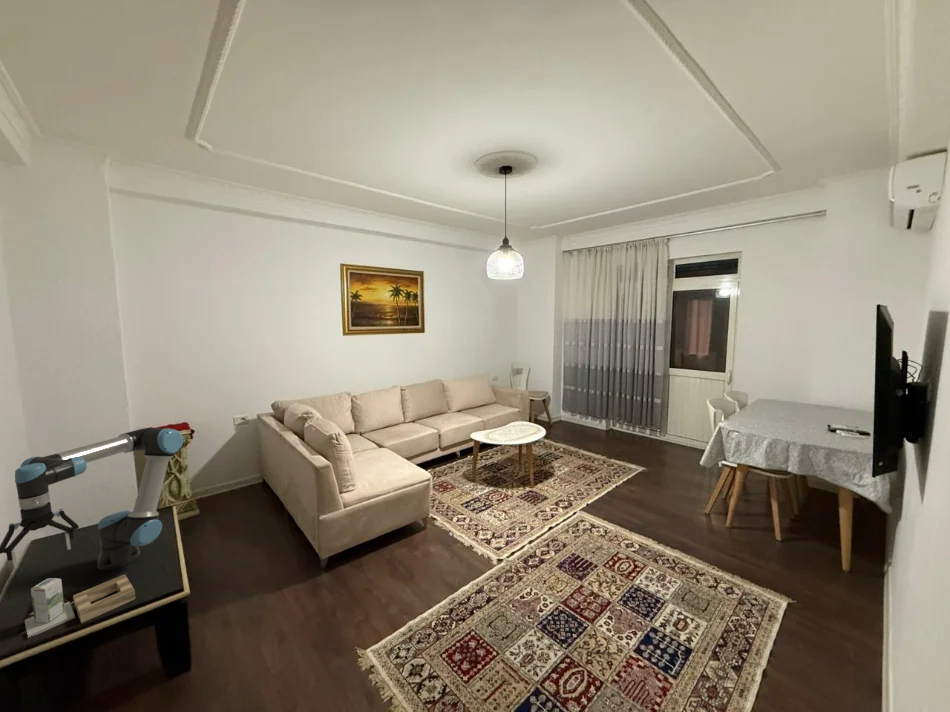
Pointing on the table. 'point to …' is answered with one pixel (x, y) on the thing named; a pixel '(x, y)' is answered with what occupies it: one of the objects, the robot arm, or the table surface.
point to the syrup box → (47, 600)
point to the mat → (41, 627)
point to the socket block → (104, 605)
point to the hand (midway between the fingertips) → (43, 557)
